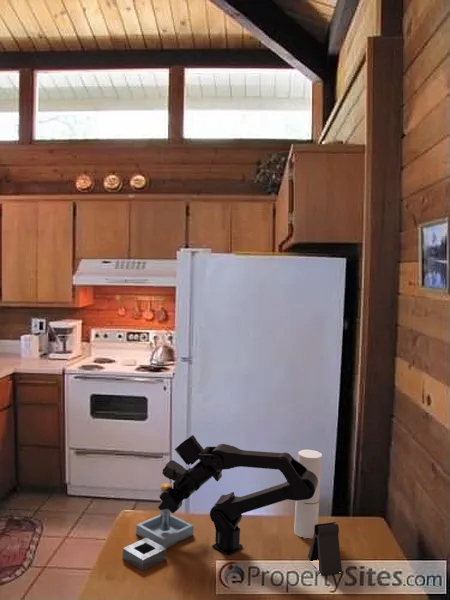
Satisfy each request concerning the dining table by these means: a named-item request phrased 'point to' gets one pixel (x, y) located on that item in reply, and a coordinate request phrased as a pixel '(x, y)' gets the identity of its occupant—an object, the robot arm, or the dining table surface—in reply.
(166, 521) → the pin
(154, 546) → the pin collar
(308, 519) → the cylindrical container
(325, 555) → the phone stand
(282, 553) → the dining table surface
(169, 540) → the tray
